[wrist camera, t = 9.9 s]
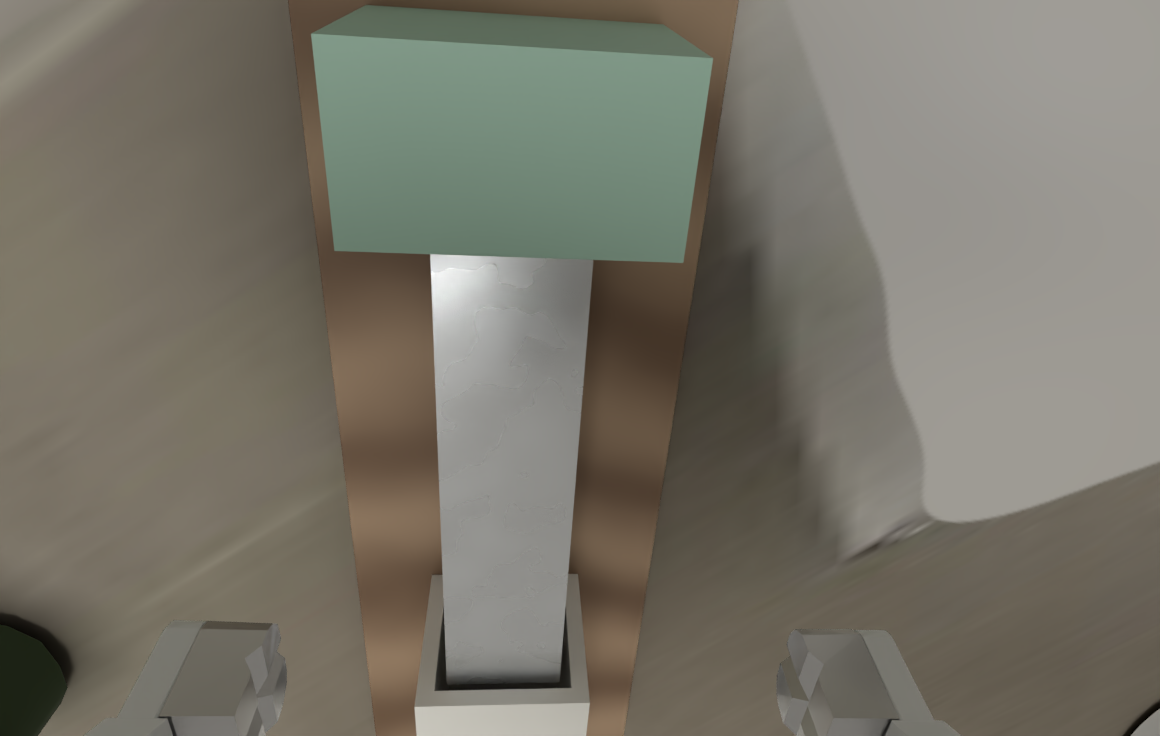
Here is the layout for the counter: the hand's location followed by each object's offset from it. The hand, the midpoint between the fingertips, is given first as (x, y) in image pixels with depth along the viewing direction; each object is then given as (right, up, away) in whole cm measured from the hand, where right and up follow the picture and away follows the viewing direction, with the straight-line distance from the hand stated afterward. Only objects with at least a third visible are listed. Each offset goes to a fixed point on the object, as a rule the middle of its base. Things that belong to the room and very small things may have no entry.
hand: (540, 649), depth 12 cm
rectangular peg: (-2, +4, +13) cm, 14 cm away
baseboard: (-2, +1, +17) cm, 17 cm away
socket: (-1, +12, +9) cm, 15 cm away
